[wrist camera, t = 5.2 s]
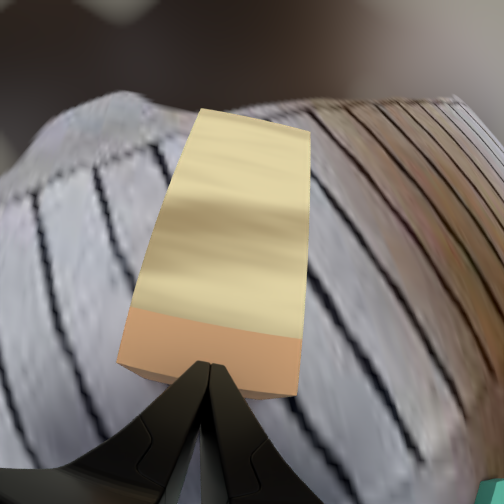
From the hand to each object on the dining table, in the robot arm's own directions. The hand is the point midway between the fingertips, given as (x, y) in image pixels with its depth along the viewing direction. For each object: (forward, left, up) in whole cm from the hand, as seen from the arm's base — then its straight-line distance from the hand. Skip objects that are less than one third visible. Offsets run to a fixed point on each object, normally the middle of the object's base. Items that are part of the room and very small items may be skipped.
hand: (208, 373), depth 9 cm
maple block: (0, 0, -4) cm, 4 cm away
